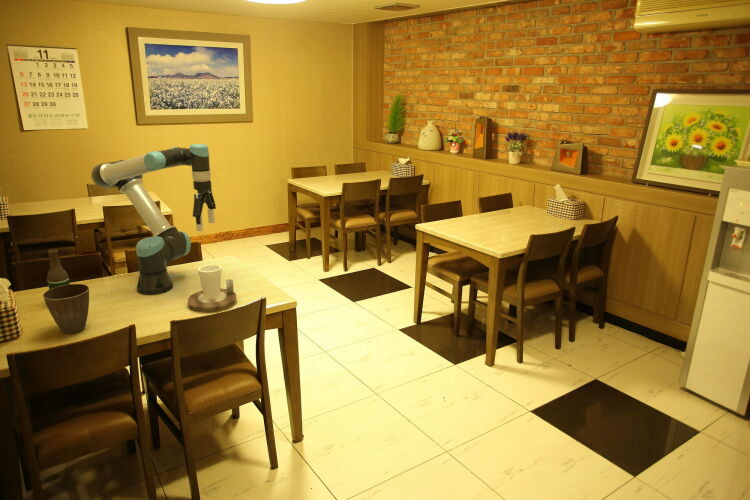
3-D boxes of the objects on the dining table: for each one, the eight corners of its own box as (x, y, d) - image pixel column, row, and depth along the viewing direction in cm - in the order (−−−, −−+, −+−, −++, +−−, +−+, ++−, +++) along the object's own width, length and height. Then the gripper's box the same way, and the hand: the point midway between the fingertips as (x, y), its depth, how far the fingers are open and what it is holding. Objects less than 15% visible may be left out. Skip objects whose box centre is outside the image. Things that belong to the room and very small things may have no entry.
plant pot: (58, 343, 185) (50, 302, 180) (44, 330, 194) (36, 291, 190) (101, 329, 196) (95, 291, 191) (86, 318, 205) (80, 280, 200)
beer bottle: (53, 301, 220) (43, 248, 213) (74, 298, 223) (64, 246, 216) (50, 308, 213) (40, 253, 206) (71, 305, 216) (62, 251, 209)
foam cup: (216, 302, 215) (214, 273, 211) (196, 299, 217) (193, 271, 213) (227, 293, 223) (225, 265, 220) (208, 291, 225) (205, 263, 221)
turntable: (195, 314, 207) (194, 297, 205) (182, 297, 223) (180, 281, 220) (243, 303, 218) (242, 287, 216) (227, 288, 234) (226, 273, 231)
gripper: (198, 185, 212) (203, 234, 218) (220, 175, 236) (224, 220, 242) (181, 185, 212) (186, 234, 219) (204, 175, 236) (208, 219, 243)
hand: (206, 227), depth 230 cm, fingers open, 13 cm apart
